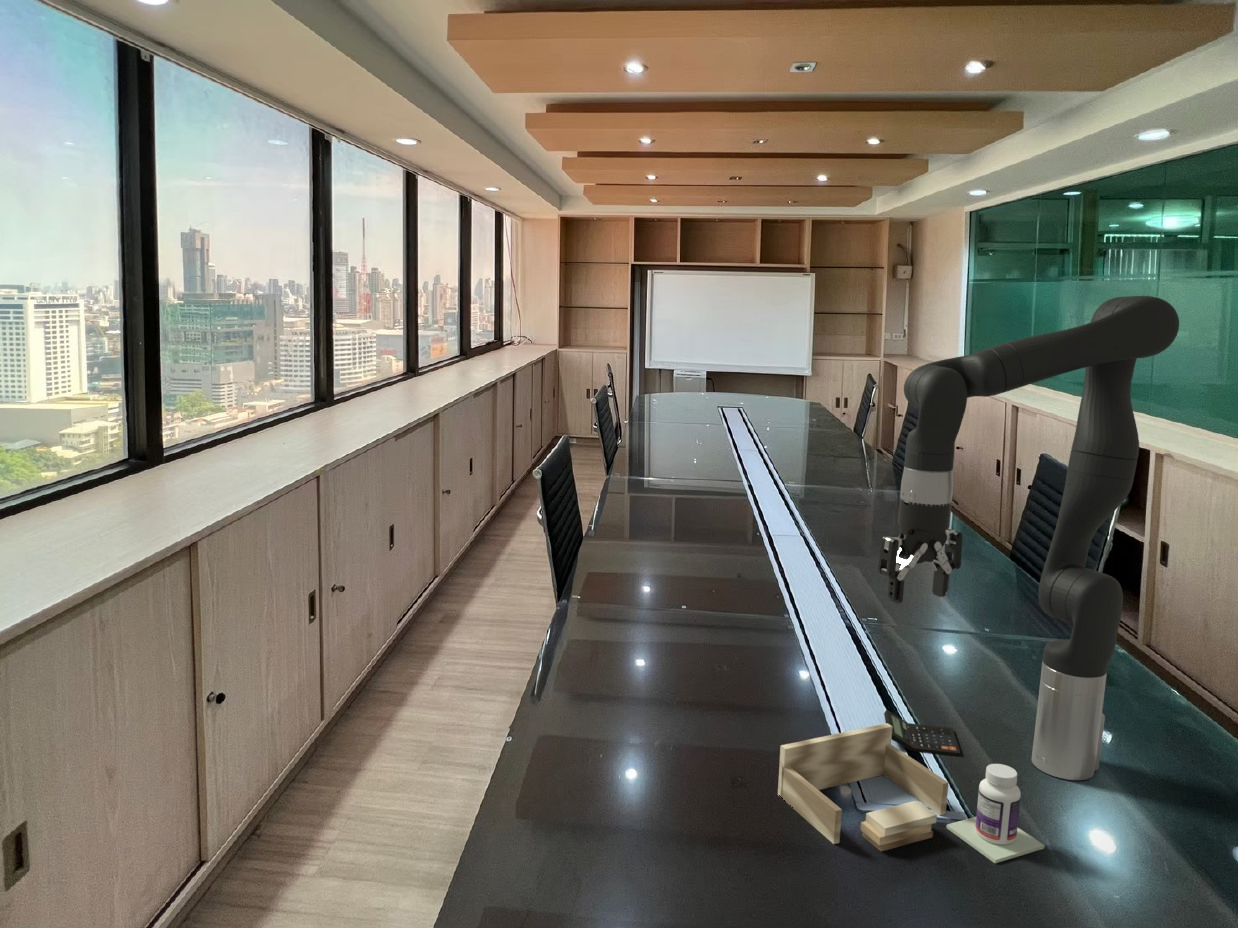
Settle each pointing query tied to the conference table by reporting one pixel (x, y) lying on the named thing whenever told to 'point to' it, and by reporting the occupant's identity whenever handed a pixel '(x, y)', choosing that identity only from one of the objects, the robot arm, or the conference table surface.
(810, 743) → the enclosure
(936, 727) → the calculator
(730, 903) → the conference table surface
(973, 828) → the sage mat
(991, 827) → the pill bottle
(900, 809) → the offcut stack
